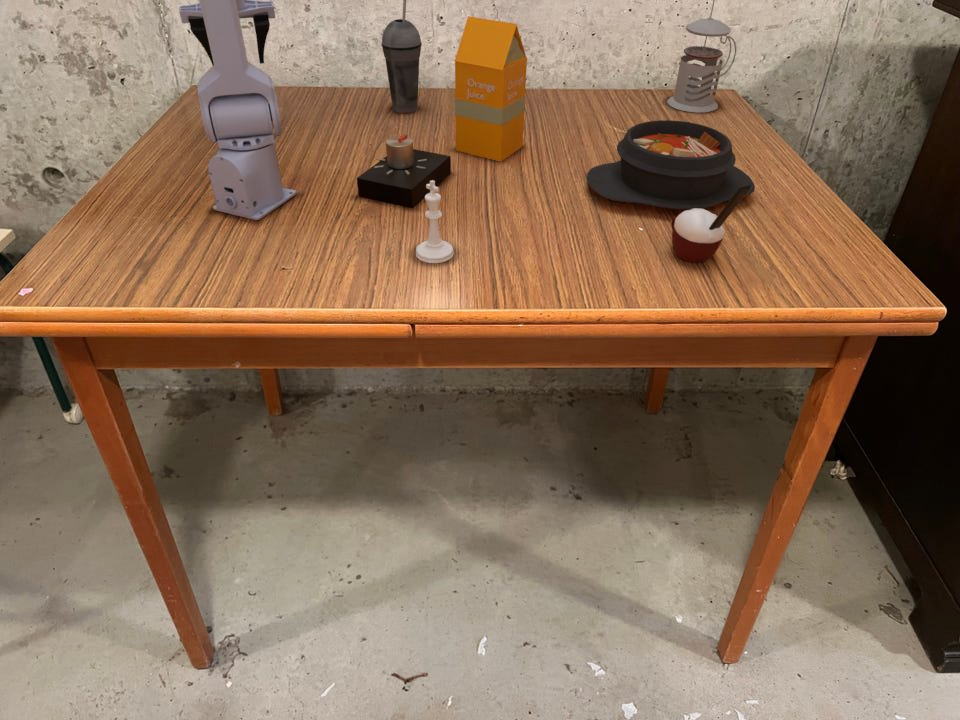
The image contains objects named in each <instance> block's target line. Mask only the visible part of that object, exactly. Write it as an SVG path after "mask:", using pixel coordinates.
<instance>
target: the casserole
mask: <svg viewBox="0 0 960 720" xmlns="http://www.w3.org/2000/svg"><path fill="white" fill-rule="evenodd" d="M616 152H617V154H618V156H619V158H620V160H618V161H614V162H609V163H602V164H599V165H595V166H593V167H591V168H590V169H589V170H588V172H587V174H586V181H587V183H588V185H589V186H590V188H591V189H592V190H593V191H594V192H596V193H597V194H598V195H600V196H602V197H604V198H606V199H607V200H611V201H615V202H621V203H628V204H629V203H630V204H642V205H646V206H653V207H657V208H664V209H672V210H691V209H694V208H699V209H705V208H710V207H713V206H717V205H719V204H722V203H725V202H727V201H730V199H731V198H732V197H733V195H734V194H735V193H736V191H737V190H738V189H739V187H741V186H745V185H751V187H750V189H749V190H748V192H747V193H746V194H745V196H744V197H746V196H750V195H751V194H753V193H754V192H755V189H756V186H755V183H754V181H753V180H752V178H751V177H750V176H749V175H748V174H747V173H746V172H744V171H743V170H742V169H740V168H738V167H737V166H735V164H736V161H737V158H736V154H735V153H734V151H733V145H732V141H731V140H730V138H729V137H728V136H727V135H726V134H724V133H722V132H721V131H719V130H717V129H714V128H712V127H710V126H706V125H703V124H700V123H694V122H690V121H683V120H672V119H671V120H663V119H661V120H650V121H644V122H640V123H637V124H635V125H633V126H631V127H630V128H628V130H627V131H626V133H625V134H624V137H623V138H622V139H621V140H619V142H618V143H617V145H616Z"/></svg>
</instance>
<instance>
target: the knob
mask: <svg viewBox="0 0 960 720" xmlns="http://www.w3.org/2000/svg"><path fill="white" fill-rule="evenodd" d="M413 149H414V140H413V139H412V138H411V137H409V136H408V134H402V135H399V136H398V135H397V136H392V137H389V138H387V139H386V140H385V151H386V156H387V164H388V166H389V167H391V168H394V169H406V168H410V167H412V166H413V165H414V151H413Z"/></svg>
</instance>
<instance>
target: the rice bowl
mask: <svg viewBox="0 0 960 720" xmlns="http://www.w3.org/2000/svg"><path fill="white" fill-rule="evenodd" d="M750 187H751V185H745V186H741V187H739V189H738V190H737V191H736V193H735V194H734V195H733V197H732V198H731V199H730V200H728V202H727V203H726V205H725V206H724V207H723V208H722V210H721V211H720V212H719V214H718V215H717V214H714V213H712V212H711V211H709V210H708V209H707V210H706V209H705V208H694V209H684V211H682V212H681V213H679V214H678V215H677V216H676V217H673V218H672V220H671V224H670V225H671V246H672V249H673V252H674V253H675V254H676V256H678V257H679V258H680V259H682V260H683V261H686V262H690V263H702V262H706V261H708V260H710V259H711V258H713V256H714V255H715V254H716V252H717V251H718V250H719V248H720V247H721V244H722V242H723V239H724V237H725V236H726V233H727V231H726V230H725V228H724V226H723V224H724V223H725V221H726V220H727V219H728V217H729V216H730V215H731V213H733V211H734V210H735V209H736V208H737V207H738V205H739V204H740V202H741V201H742V200H743V198H744V197H746V196H745V194H746V193H747V192H748V190H749V189H750Z"/></svg>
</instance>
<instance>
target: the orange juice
mask: <svg viewBox="0 0 960 720" xmlns="http://www.w3.org/2000/svg"><path fill="white" fill-rule="evenodd" d="M527 63H528V56H527V54H526V52H525V48H524V45H523V41H522V38H521V35H520V31H519V28H518V24H517V23H514V22H513V23H512V22H507V21H501V20H494V19H489V18H488V19H487V18H482V17H475V16H468V15H467V17H466V21H465V24H464V28H463V31H462V36H461V38H460V42H459V44H458V48H457V51H456V55H455V58H454V80H455V81H454V86H455V87H454V90H455V91H454V92H455V93H454V95H455V97H454V116H455V151H457V152H460V153H465V154H468V155H472V156H476V157H479V158H484V159H488V160H493V161H496V162H500V163H501V162H502V161H504V160H505V159H507V158H509V157H510V156H511V155H513V154H514V153H516V152H518V151H519V150H520V149H521V148H523V144H524V143H523V141H524V126H525V125H524V124H525V122H524V121H525V112H526V111H525V109H526V86H527V85H526V84H527V65H528V64H527Z"/></svg>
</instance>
